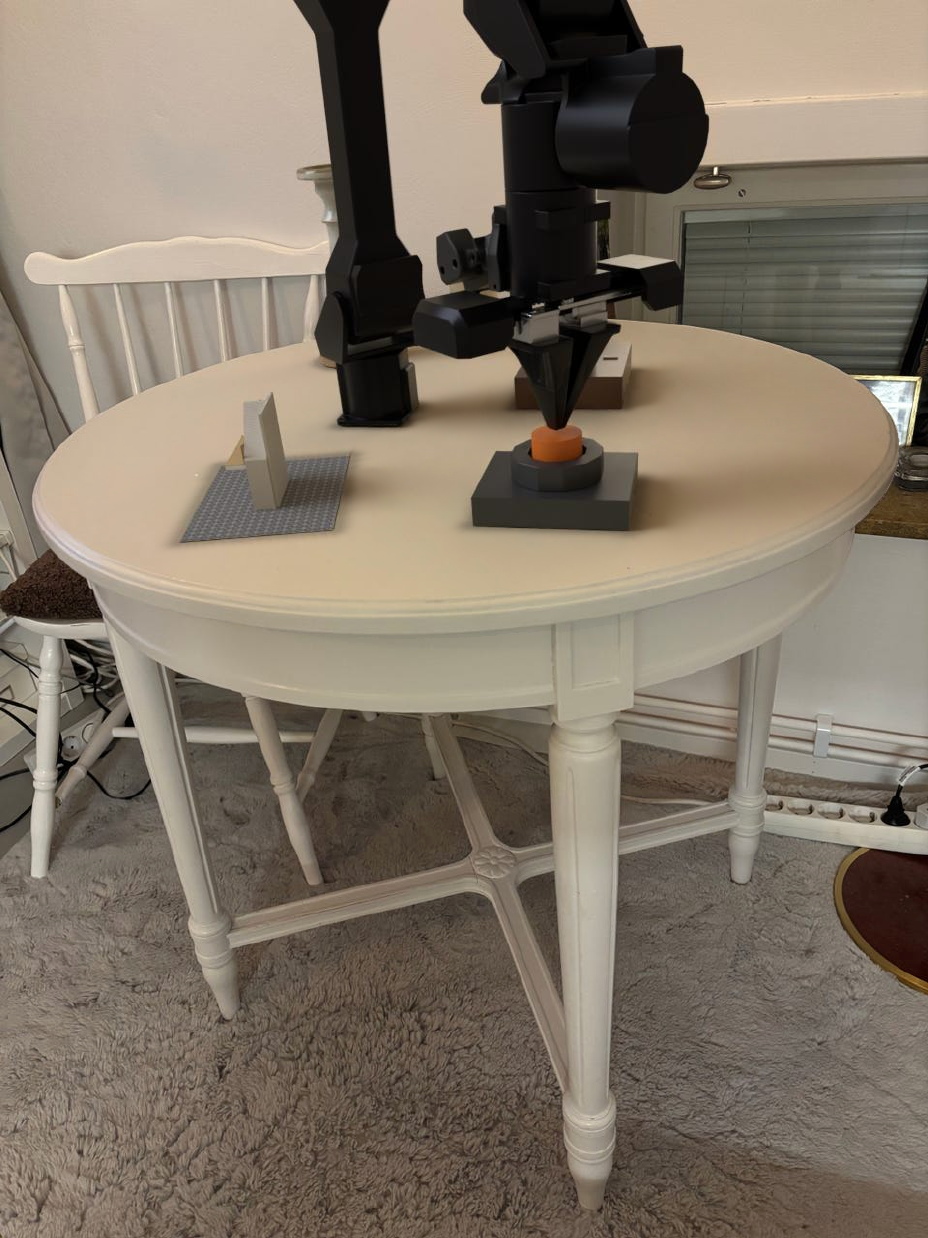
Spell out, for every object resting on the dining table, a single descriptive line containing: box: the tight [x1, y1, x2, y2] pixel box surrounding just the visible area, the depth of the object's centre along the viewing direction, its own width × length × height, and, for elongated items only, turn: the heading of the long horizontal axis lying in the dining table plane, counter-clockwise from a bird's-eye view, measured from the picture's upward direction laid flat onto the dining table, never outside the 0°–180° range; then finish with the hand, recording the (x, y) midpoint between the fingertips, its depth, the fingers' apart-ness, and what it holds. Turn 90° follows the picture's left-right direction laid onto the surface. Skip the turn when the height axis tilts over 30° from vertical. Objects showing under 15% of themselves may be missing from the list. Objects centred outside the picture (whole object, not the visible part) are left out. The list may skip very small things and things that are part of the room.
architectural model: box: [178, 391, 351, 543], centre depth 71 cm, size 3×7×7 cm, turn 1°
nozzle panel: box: [513, 341, 633, 410], centre depth 89 cm, size 10×12×3 cm
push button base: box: [470, 436, 639, 531], centre depth 66 cm, size 11×9×4 cm
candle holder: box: [295, 163, 339, 369], centre depth 100 cm, size 9×9×20 cm
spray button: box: [530, 424, 583, 462], centre depth 65 cm, size 4×4×2 cm
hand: (556, 428), depth 64 cm, fingers closed
